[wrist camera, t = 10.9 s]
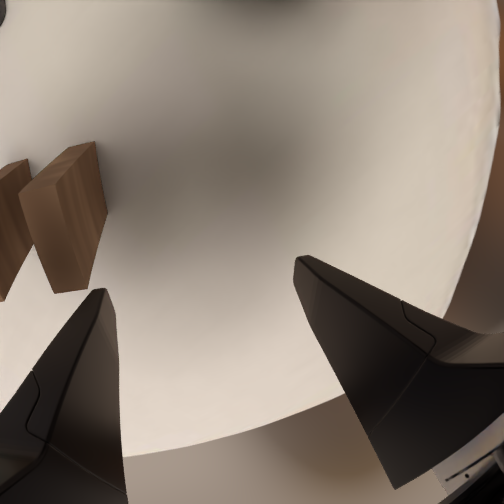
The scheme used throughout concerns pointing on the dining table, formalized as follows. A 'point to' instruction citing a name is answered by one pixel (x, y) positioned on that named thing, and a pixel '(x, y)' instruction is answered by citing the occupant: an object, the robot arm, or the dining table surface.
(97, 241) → the brown wooden block
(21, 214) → the domino
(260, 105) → the dining table surface
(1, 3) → the smartphone with white screen
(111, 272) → the dining table surface
